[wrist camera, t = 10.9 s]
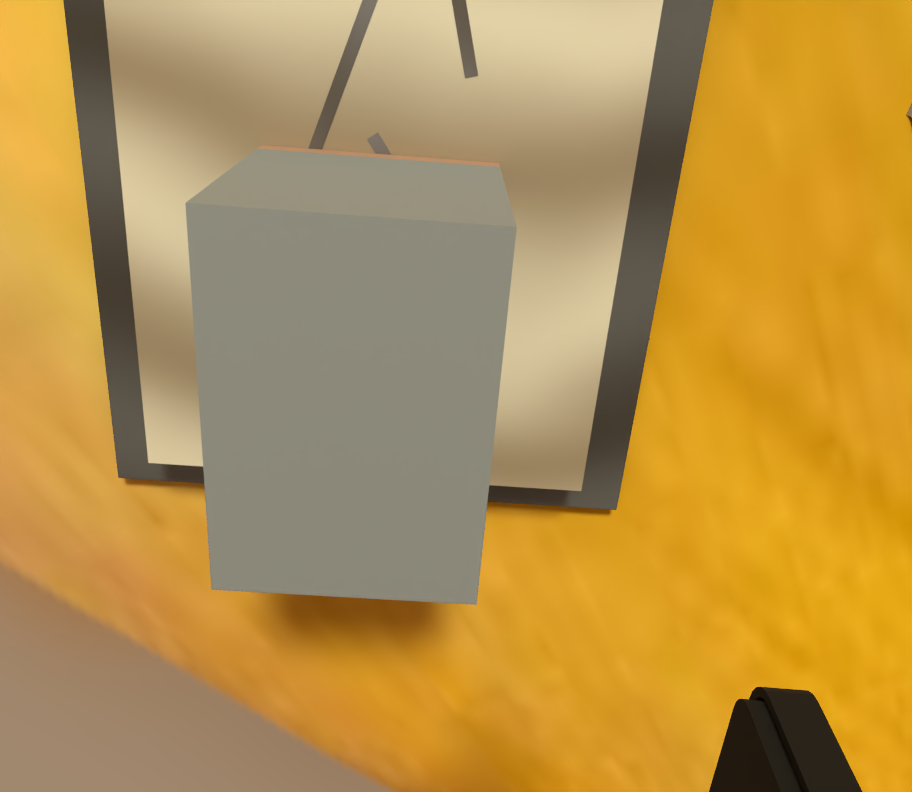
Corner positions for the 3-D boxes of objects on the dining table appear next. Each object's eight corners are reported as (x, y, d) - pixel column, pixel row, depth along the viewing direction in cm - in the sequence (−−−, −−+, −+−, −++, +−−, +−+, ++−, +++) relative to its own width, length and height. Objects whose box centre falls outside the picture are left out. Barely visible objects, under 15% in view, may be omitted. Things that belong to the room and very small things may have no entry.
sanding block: (261, 144, 19) (185, 202, 14) (498, 162, 19) (516, 226, 14) (269, 447, 22) (211, 589, 17) (470, 460, 23) (476, 605, 17)
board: (13, -532, 16) (-44, -602, 14) (791, -450, 16) (834, -507, 14) (124, 469, 25) (98, 505, 23) (613, 500, 26) (625, 538, 24)
